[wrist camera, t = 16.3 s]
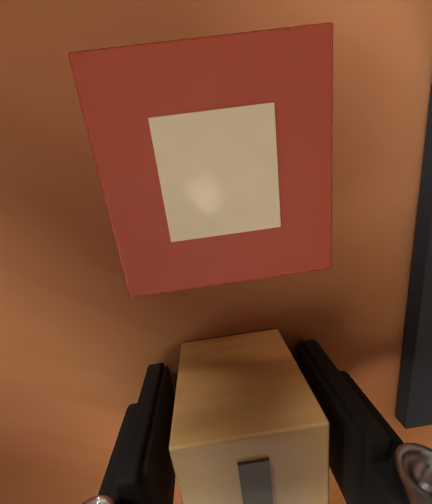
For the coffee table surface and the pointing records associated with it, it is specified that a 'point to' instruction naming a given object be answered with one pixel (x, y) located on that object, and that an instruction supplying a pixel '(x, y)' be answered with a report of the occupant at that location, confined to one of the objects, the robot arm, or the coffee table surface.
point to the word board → (419, 310)
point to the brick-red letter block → (214, 154)
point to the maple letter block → (247, 425)
